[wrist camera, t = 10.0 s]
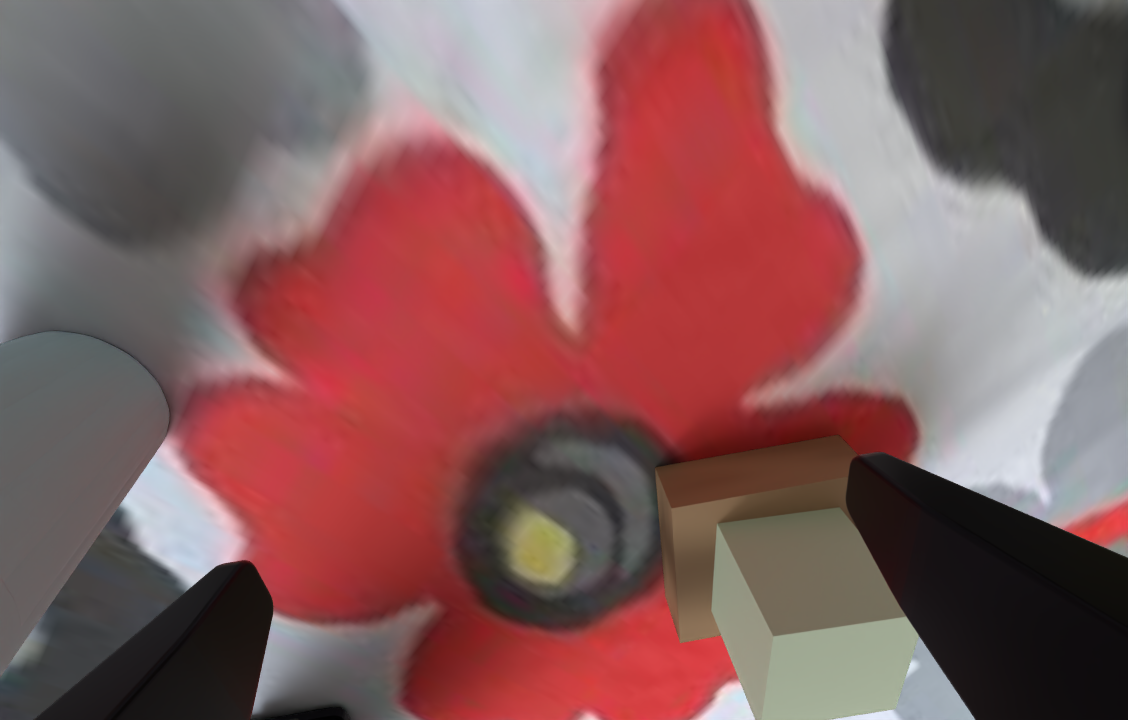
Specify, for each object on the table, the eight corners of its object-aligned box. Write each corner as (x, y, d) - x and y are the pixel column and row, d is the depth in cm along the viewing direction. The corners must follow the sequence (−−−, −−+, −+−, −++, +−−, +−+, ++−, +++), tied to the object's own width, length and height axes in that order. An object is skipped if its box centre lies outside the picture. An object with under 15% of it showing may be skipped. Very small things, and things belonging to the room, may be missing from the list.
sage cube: (839, 507, 22) (925, 613, 17) (822, 594, 24) (895, 708, 20) (716, 523, 22) (773, 636, 17) (711, 610, 24) (759, 730, 19)
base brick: (819, 559, 28) (853, 610, 25) (662, 588, 27) (680, 643, 25) (832, 428, 24) (874, 471, 21) (652, 460, 24) (671, 508, 21)
